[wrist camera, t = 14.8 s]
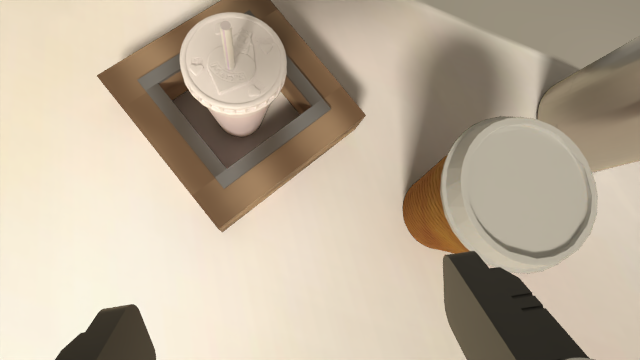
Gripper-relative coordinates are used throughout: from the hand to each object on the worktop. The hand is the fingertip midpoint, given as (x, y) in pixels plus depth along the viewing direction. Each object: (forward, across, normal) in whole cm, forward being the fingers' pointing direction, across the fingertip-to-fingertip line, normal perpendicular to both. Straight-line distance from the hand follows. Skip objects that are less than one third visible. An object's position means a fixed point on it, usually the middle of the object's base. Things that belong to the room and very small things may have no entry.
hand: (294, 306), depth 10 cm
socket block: (+25, +4, 0) cm, 25 cm away
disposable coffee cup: (+22, -11, +10) cm, 26 cm away
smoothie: (+25, +4, 0) cm, 25 cm away
